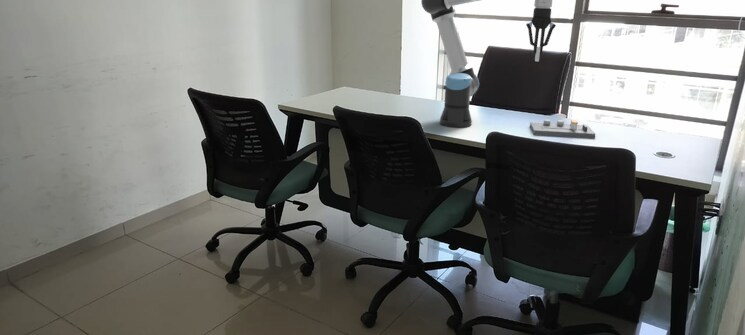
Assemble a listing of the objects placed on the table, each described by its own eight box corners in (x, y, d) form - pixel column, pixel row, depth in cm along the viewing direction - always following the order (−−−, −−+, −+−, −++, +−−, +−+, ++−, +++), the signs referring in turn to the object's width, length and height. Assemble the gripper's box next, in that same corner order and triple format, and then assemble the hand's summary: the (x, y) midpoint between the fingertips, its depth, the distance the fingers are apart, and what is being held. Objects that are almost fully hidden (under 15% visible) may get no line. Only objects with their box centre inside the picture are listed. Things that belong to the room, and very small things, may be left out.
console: (533, 134, 238) (534, 125, 236) (529, 126, 252) (530, 118, 251) (594, 138, 233) (596, 129, 232) (587, 129, 248) (588, 121, 247)
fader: (571, 129, 238) (572, 122, 237) (570, 127, 242) (571, 120, 241) (576, 129, 237) (577, 122, 236) (575, 127, 241) (576, 120, 240)
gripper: (528, 7, 235) (522, 61, 242) (559, 8, 233) (552, 62, 240) (526, 7, 242) (521, 59, 249) (556, 7, 240) (550, 60, 247)
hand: (536, 61), depth 245 cm, fingers closed
